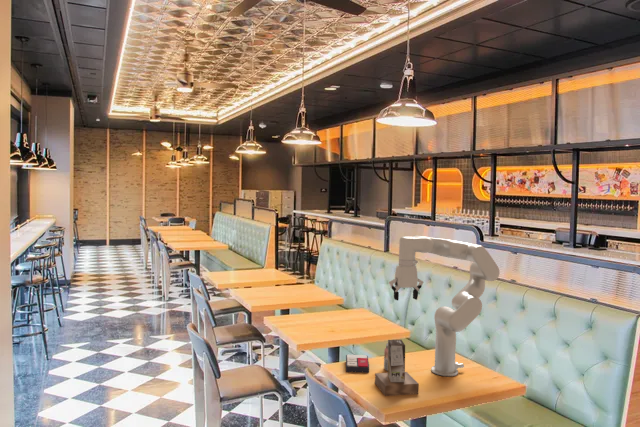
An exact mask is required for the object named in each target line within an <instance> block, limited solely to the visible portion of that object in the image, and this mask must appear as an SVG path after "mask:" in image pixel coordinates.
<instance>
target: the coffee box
mask: <svg viewBox="0 0 640 427" xmlns="http://www.w3.org/2000/svg"><path fill="white" fill-rule="evenodd" d="M387 343H388V371H387V373H388V377H389V379H390V382H405V372H406V344H405V342H404V341H403V340H402V339H388V340H387Z"/></svg>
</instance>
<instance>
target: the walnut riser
mask: <svg viewBox="0 0 640 427" xmlns="http://www.w3.org/2000/svg"><path fill="white" fill-rule="evenodd" d="M374 384H375V386H377V388H378V389H379V391H380V392H381V393H382V394H383V395H384V397H390V396H391V397H393V396H394V397H395V396H406V395H407V396H409V395H419V391H420V389H419V388H420V387H419V386H420V385H419V384H420V383H419V382H418V381H416V379H415V378H414V377H413V376H411V375H410V373H408V371H405V382H390V379H389V377H388V372H377V373H376V372H375V374H374Z"/></svg>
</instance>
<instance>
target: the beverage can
mask: <svg viewBox="0 0 640 427" xmlns="http://www.w3.org/2000/svg"><path fill="white" fill-rule="evenodd" d="M383 354H384V355H383V368H384V370H385V371H386V372H388V342H387V343H386V345H385V348H384V351H383Z"/></svg>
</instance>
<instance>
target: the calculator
mask: <svg viewBox="0 0 640 427" xmlns="http://www.w3.org/2000/svg"><path fill="white" fill-rule="evenodd" d="M369 363H370V362H369V356H368V355H365V354H346V355H345V372H346V373H360V374H361V373H364V374H369V373H370V364H369Z"/></svg>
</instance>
